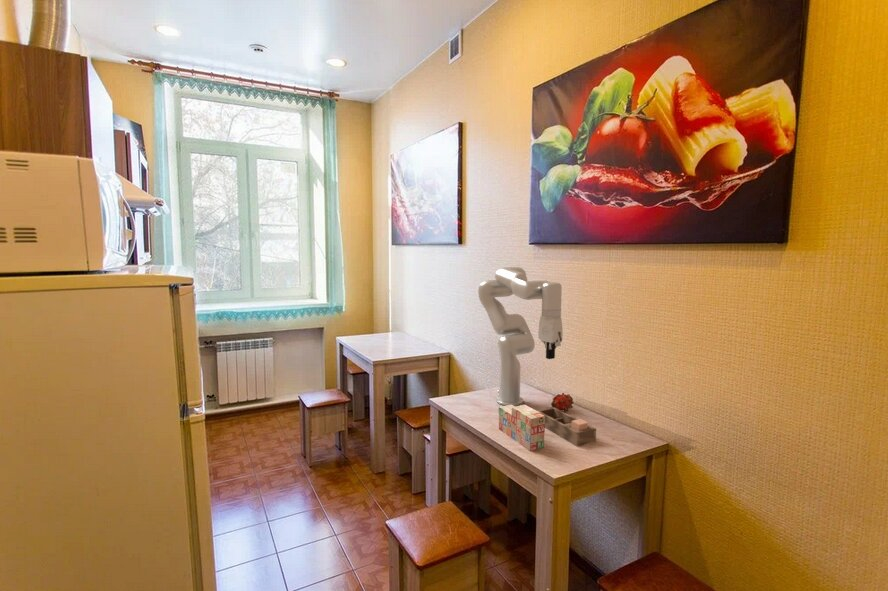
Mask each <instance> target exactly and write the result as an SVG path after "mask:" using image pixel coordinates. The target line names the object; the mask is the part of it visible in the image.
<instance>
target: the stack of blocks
mask: <svg viewBox="0 0 888 591" xmlns="http://www.w3.org/2000/svg"><path fill="white" fill-rule="evenodd" d="M498 429H499V430H500V431H501V432H503V433H504V434H505V435H506V436H508V437H510V438H511V439H512V440H514V441H515V442H517V443H518V444H519V445H521V446H522V447H523V448H525V449H526V450H528V451H529V452H533V451H537V450H541V449H544V448H545V431H546V430H545V429H546V428H545V416H544V415H542V414H541V413H540V412H538V410H536V409H534V408H532V407H530V406H528V405H526V404H521V405H517V406H513V405H501V406H498Z"/></svg>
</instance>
